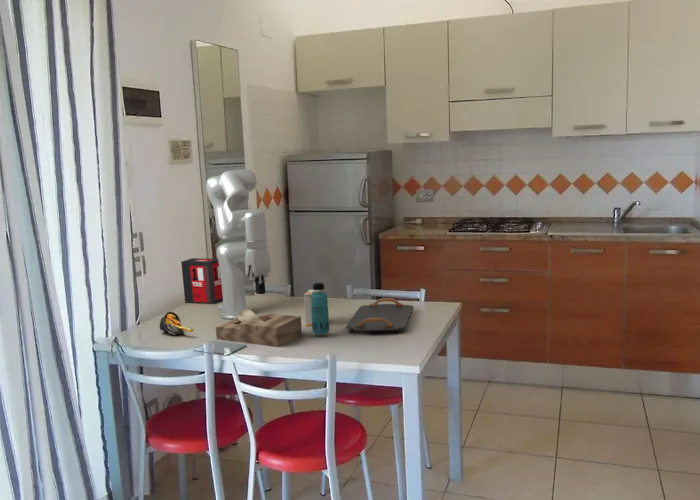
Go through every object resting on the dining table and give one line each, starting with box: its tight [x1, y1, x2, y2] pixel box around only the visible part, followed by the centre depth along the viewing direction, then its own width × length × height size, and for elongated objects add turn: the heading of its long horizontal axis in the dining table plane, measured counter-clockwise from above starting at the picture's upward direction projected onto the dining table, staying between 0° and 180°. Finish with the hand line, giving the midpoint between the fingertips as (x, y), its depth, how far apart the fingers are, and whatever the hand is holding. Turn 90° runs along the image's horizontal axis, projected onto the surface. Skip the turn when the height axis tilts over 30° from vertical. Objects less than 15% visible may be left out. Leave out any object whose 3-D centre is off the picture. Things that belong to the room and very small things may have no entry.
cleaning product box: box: [180, 257, 223, 305], centre depth 310 cm, size 16×9×20 cm, turn 69°
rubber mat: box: [195, 340, 248, 356], centre depth 235 cm, size 16×11×1 cm
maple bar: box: [237, 307, 263, 323], centre depth 247 cm, size 13×5×4 cm
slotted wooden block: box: [215, 312, 303, 348], centre depth 247 cm, size 28×16×7 cm, turn 61°
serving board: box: [345, 297, 414, 334], centre depth 259 cm, size 39×23×6 cm, turn 169°
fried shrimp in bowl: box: [159, 311, 194, 336], centre depth 257 cm, size 9×11×18 cm
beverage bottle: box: [311, 282, 330, 335], centre depth 243 cm, size 6×7×20 cm
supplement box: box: [303, 289, 321, 327], centre depth 261 cm, size 8×5×13 cm, turn 168°
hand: (260, 293), depth 244 cm, fingers closed
